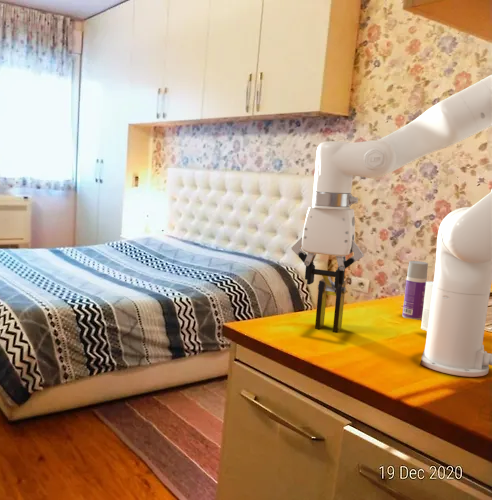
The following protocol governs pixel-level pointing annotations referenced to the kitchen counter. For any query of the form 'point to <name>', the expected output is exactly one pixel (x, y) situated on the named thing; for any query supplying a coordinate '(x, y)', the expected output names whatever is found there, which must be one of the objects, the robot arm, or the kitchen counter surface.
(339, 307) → the bracket
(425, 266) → the container
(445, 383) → the kitchen counter surface
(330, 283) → the lever
